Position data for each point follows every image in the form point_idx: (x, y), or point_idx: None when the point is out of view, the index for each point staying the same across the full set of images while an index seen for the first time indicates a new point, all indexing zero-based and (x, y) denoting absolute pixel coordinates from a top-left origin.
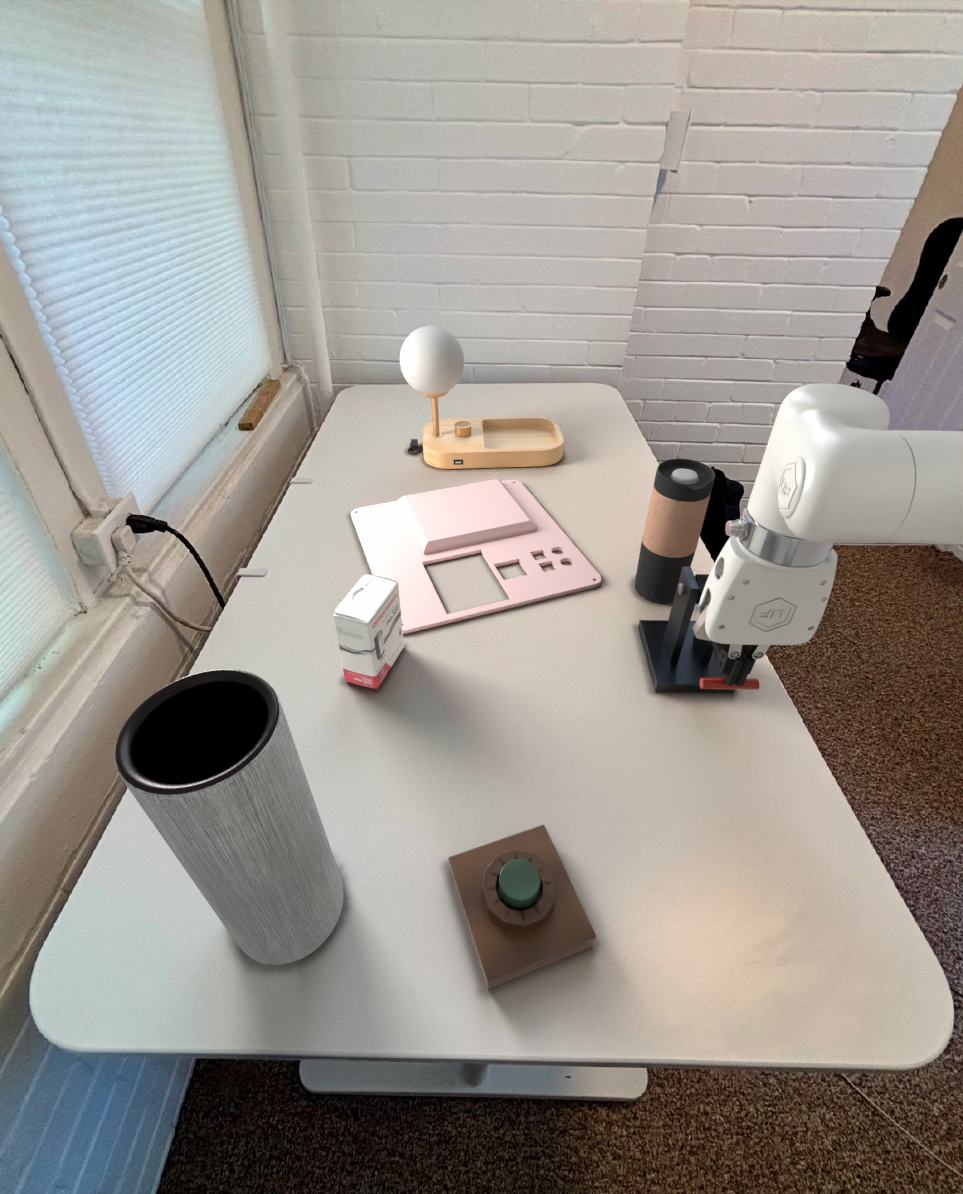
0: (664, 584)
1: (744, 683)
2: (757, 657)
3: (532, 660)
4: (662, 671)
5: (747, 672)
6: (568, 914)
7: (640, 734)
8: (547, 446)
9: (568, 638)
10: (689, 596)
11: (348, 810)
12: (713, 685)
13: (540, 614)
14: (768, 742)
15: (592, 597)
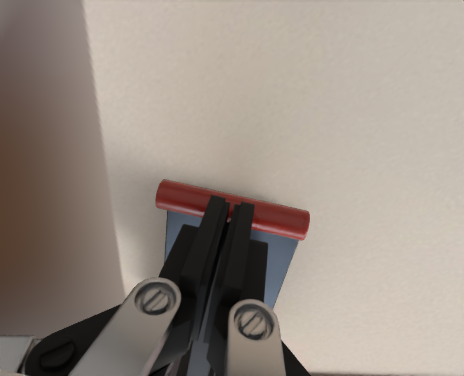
0: (209, 373)
1: (196, 201)
2: (158, 284)
3: (461, 311)
4: (277, 253)
5: (201, 232)
6: None
7: (373, 154)
8: None
9: (378, 326)
10: None
11: None
12: (281, 213)
13: (393, 364)
14: (154, 96)
15: (303, 365)
